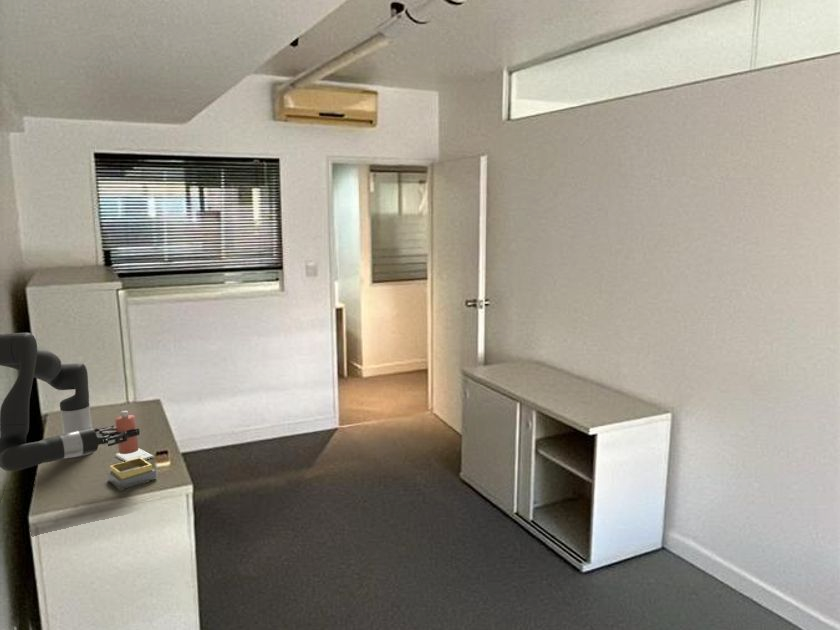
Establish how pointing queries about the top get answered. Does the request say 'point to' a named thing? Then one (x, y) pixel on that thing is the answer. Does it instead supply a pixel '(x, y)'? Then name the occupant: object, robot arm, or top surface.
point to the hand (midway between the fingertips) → (135, 429)
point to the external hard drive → (134, 455)
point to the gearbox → (131, 473)
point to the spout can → (125, 424)
